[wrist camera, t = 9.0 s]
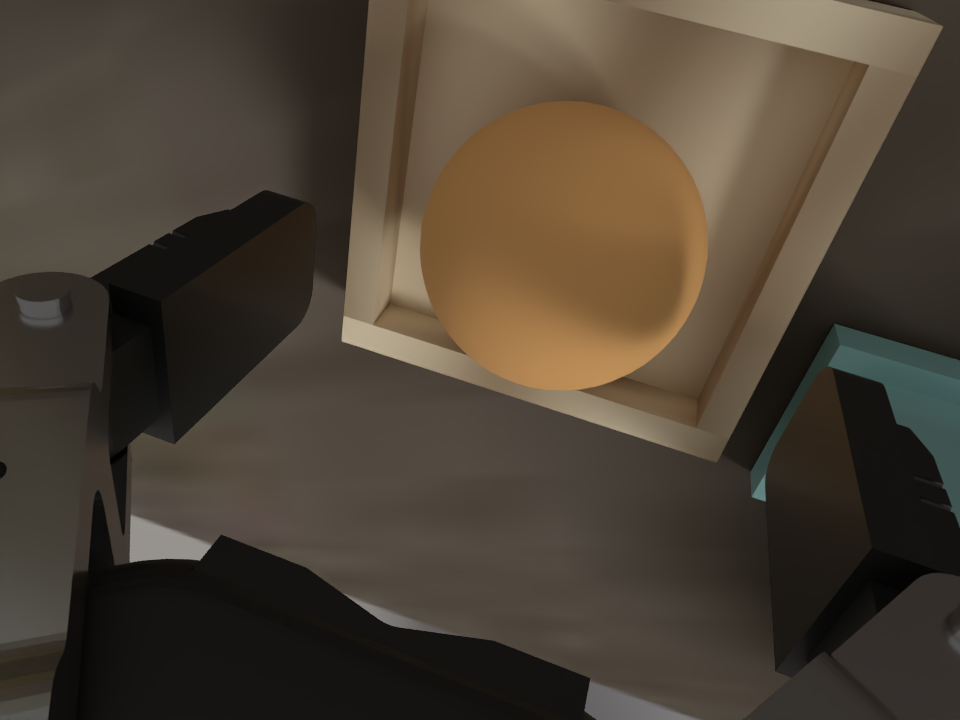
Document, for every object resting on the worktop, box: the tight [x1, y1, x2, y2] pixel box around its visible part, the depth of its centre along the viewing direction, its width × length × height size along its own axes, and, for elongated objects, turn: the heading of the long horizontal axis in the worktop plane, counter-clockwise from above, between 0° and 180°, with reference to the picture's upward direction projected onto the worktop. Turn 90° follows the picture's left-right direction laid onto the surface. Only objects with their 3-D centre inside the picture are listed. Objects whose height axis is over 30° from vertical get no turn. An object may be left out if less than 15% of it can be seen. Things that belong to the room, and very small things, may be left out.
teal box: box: [750, 324, 960, 527], centre depth 15 cm, size 5×5×7 cm
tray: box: [342, 0, 943, 463], centre depth 16 cm, size 10×10×2 cm
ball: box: [420, 101, 708, 391], centre depth 14 cm, size 6×6×6 cm
